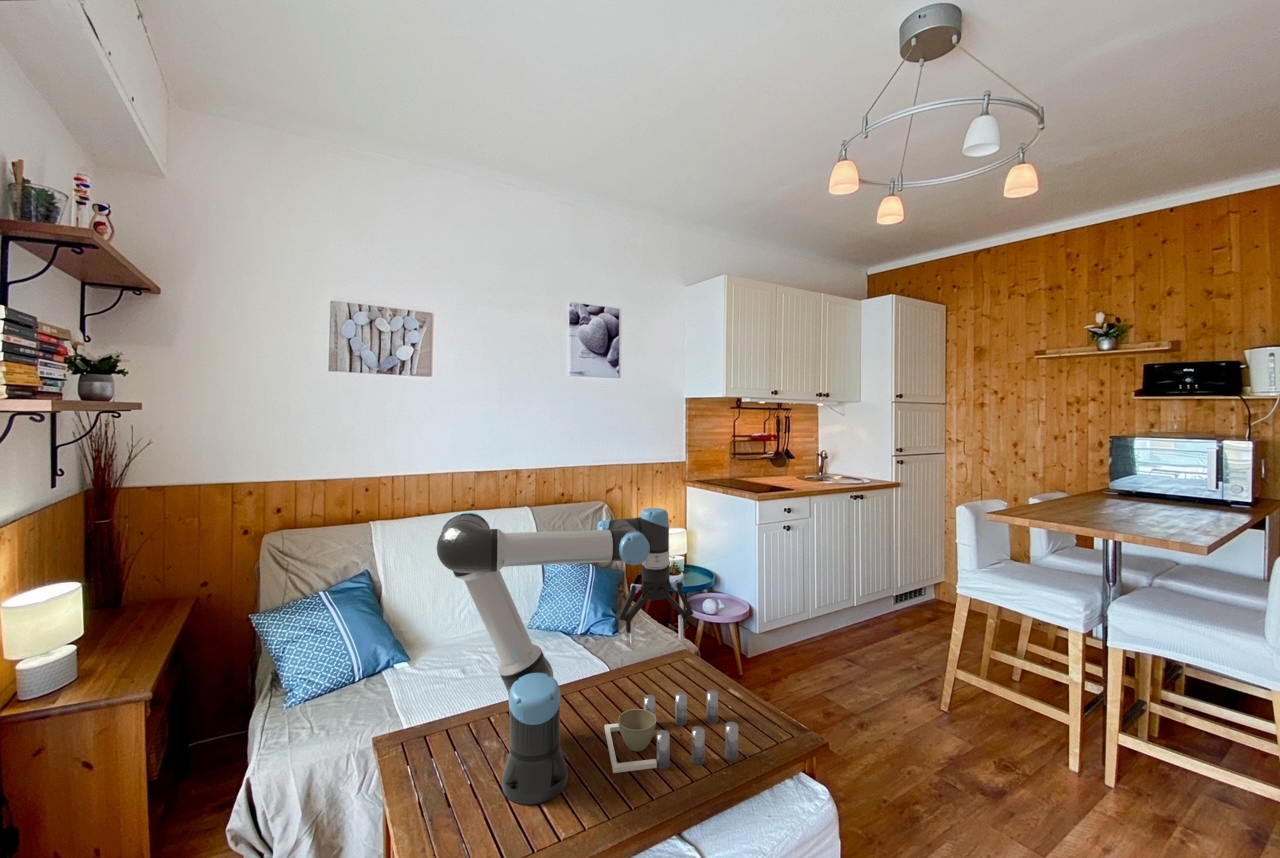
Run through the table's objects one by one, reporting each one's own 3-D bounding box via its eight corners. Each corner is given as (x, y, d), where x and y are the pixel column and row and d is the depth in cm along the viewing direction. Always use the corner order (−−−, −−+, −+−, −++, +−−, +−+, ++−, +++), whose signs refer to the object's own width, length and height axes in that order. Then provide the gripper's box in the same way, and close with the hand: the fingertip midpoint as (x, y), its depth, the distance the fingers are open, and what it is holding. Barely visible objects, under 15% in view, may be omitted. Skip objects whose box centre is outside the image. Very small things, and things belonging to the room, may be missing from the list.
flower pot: (664, 746, 141) (664, 719, 141) (635, 763, 135) (635, 735, 134) (638, 729, 149) (638, 704, 148) (610, 744, 142) (610, 718, 142)
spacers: (657, 770, 132) (658, 738, 132) (642, 722, 152) (642, 695, 151) (740, 760, 136) (740, 729, 135) (715, 715, 156) (715, 688, 155)
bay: (613, 772, 131) (613, 768, 131) (604, 729, 149) (604, 724, 149) (656, 767, 133) (656, 763, 133) (643, 725, 151) (643, 720, 151)
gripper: (611, 572, 142) (612, 651, 143) (703, 567, 145) (704, 644, 146) (608, 564, 149) (610, 639, 150) (696, 559, 153) (697, 633, 154)
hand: (656, 642), depth 148 cm, fingers open, 13 cm apart
